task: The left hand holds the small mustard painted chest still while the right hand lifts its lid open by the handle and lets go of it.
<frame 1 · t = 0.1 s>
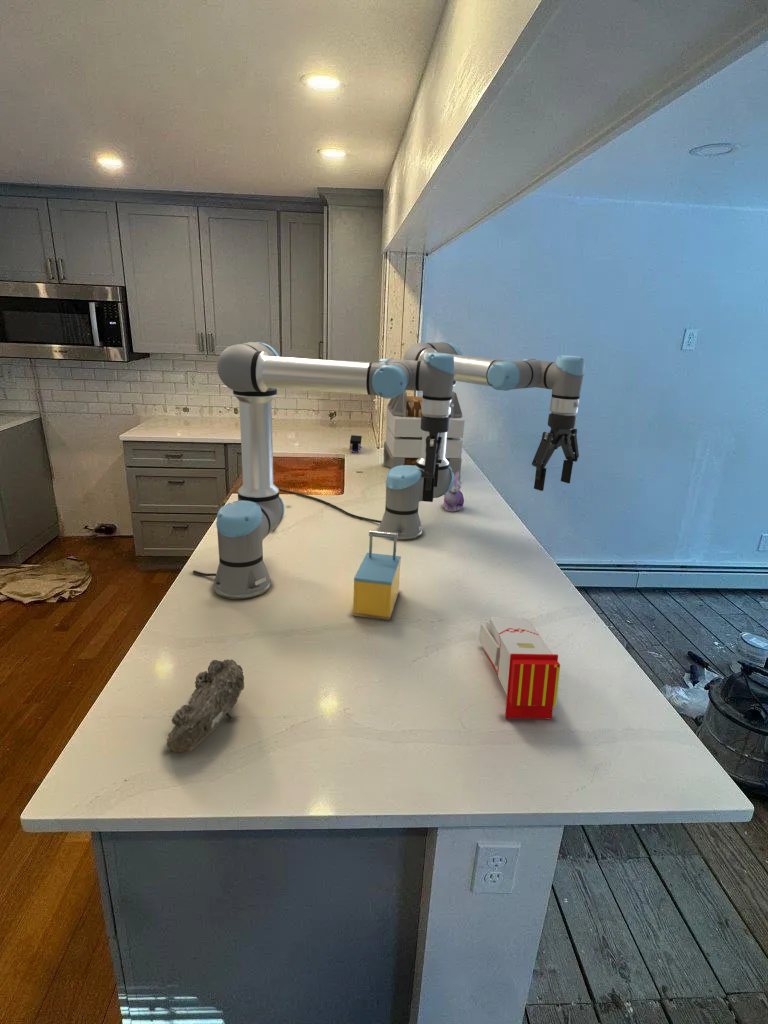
left hand: (430, 493, 154), 28 cm above the counter, tool pointing down, fingers open, 13 cm apart
right hand: (552, 485, 166), 28 cm above the counter, tool pointing down, fingers open, 13 cm apart
lid: (379, 554, 148), point 14 cm above the counter, hinge at 0.0°
feather: (280, 519, 209), on the counter
figurine character: (355, 451, 311), on the counter
chest: (376, 603, 152), on the counter
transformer: (419, 473, 275), on the counter
fossil: (212, 717, 108), on the counter
figurine: (453, 508, 228), on the counter
toy: (511, 677, 124), on the counter
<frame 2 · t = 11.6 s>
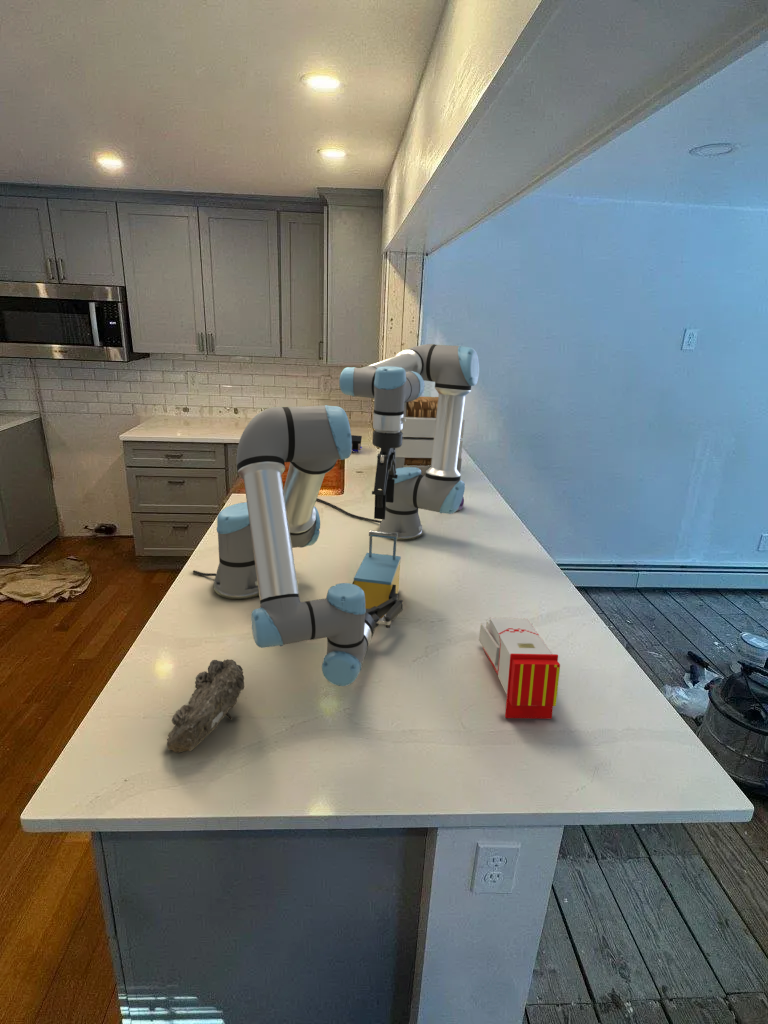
left hand: (374, 587, 146), 7 cm above the counter, tool horizontal, fingers closed on chest, 9 cm apart
right hand: (384, 510, 149), 25 cm above the counter, tool pointing down, fingers open, 13 cm apart
chest: (376, 603, 152), on the counter, touching left hand
everything else where it was.
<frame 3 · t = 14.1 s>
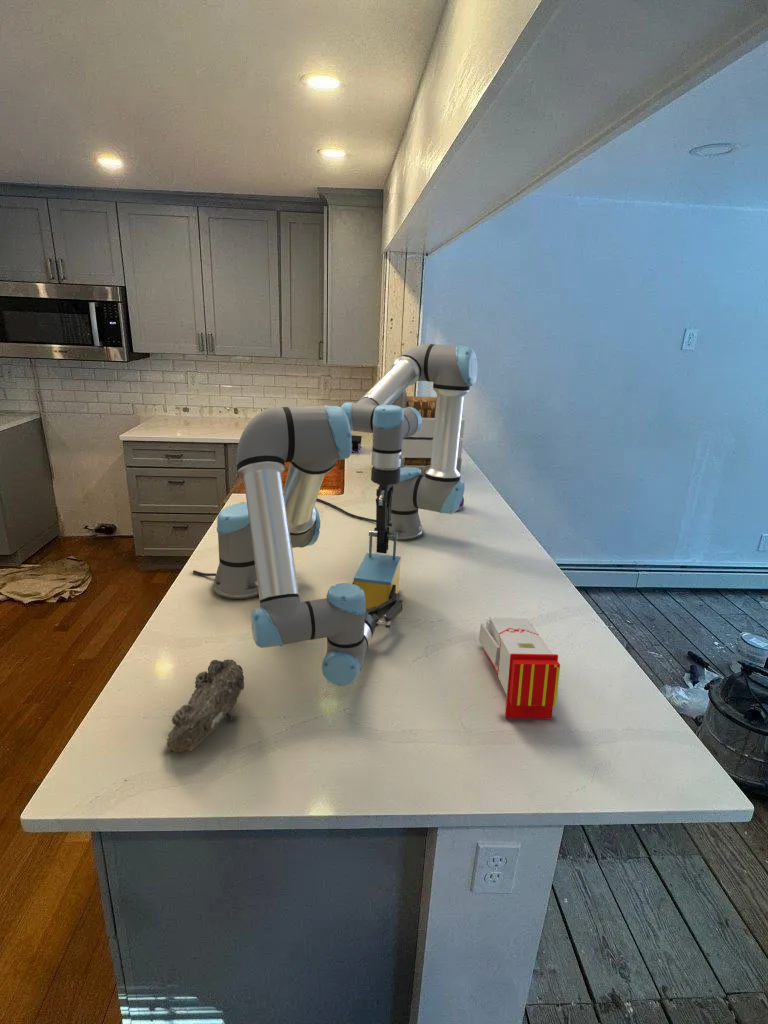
left hand: (374, 587, 146), 7 cm above the counter, tool horizontal, fingers closed on chest, 9 cm apart
right hand: (382, 550, 153), 13 cm above the counter, tool pointing down, fingers closed on lid, 2 cm apart
lid: (378, 554, 148), point 14 cm above the counter, hinge at -0.1°, touching right hand
chest: (376, 603, 152), on the counter, touching left hand
everything else where it was.
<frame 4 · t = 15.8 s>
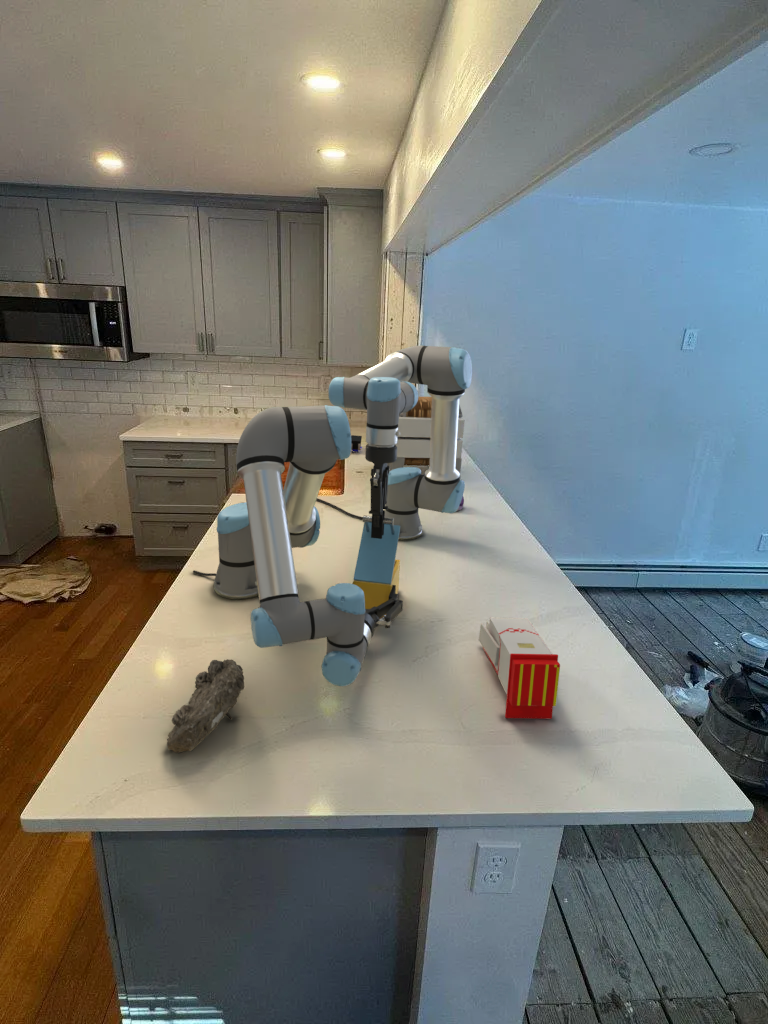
left hand: (374, 587, 146), 7 cm above the counter, tool horizontal, fingers closed on chest, 9 cm apart
right hand: (377, 535, 143), 21 cm above the counter, tool pointing down, fingers closed on lid, 2 cm apart
lid: (375, 546, 142), point 19 cm above the counter, hinge at 42.2°, touching right hand
chest: (376, 603, 152), on the counter, touching left hand
everything else where it was.
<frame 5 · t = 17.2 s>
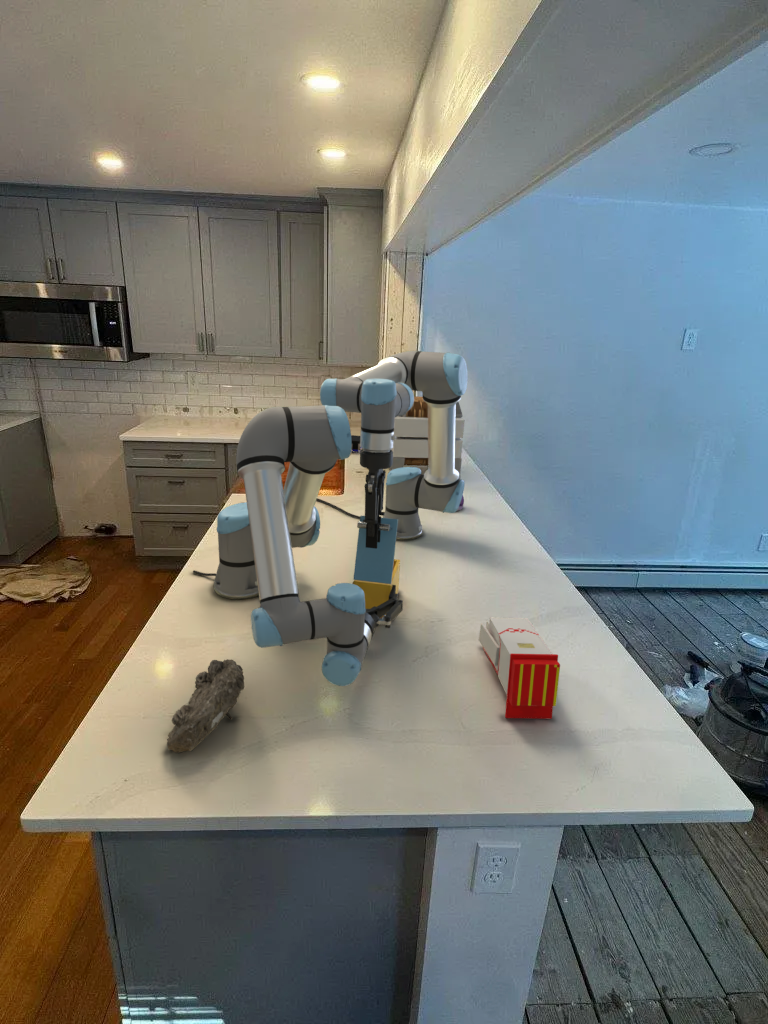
left hand: (374, 587, 146), 7 cm above the counter, tool horizontal, fingers closed on chest, 9 cm apart
right hand: (372, 544, 137), 21 cm above the counter, tool pointing down, fingers open, 3 cm apart
lid: (373, 549, 138), point 19 cm above the counter, hinge at 66.4°
chest: (376, 603, 152), on the counter, touching left hand
everything else where it was.
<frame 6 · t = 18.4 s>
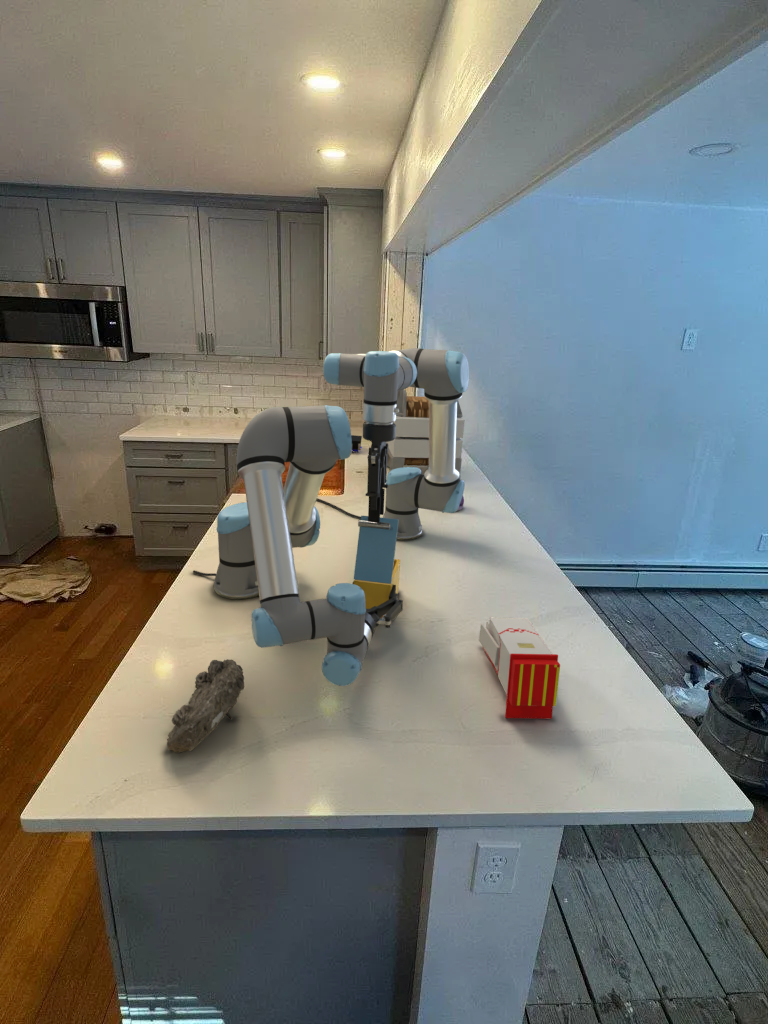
left hand: (374, 587, 146), 7 cm above the counter, tool horizontal, fingers closed on chest, 9 cm apart
right hand: (376, 517, 137), 27 cm above the counter, tool pointing down, fingers open, 5 cm apart
lid: (373, 548, 139), point 19 cm above the counter, hinge at 63.6°
chest: (376, 602, 152), on the counter, touching left hand
everything else where it was.
when the left hand's fingers open (7 cm above the counter, at t = 21.1 s): chest stays where it is, on the counter.
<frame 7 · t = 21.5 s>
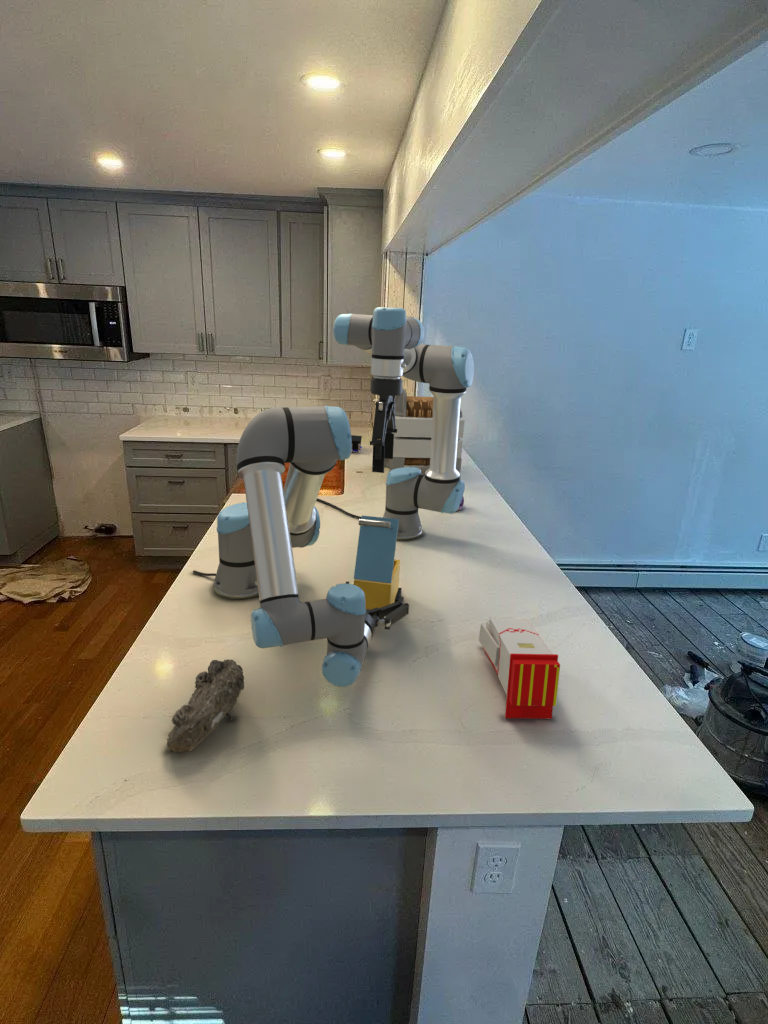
left hand: (373, 589, 145), 7 cm above the counter, tool horizontal, fingers open, 13 cm apart
right hand: (382, 465, 140), 38 cm above the counter, tool pointing down, fingers open, 13 cm apart
lid: (374, 547, 139), point 19 cm above the counter, hinge at 62.2°
chest: (376, 603, 152), on the counter
everything else where it was.
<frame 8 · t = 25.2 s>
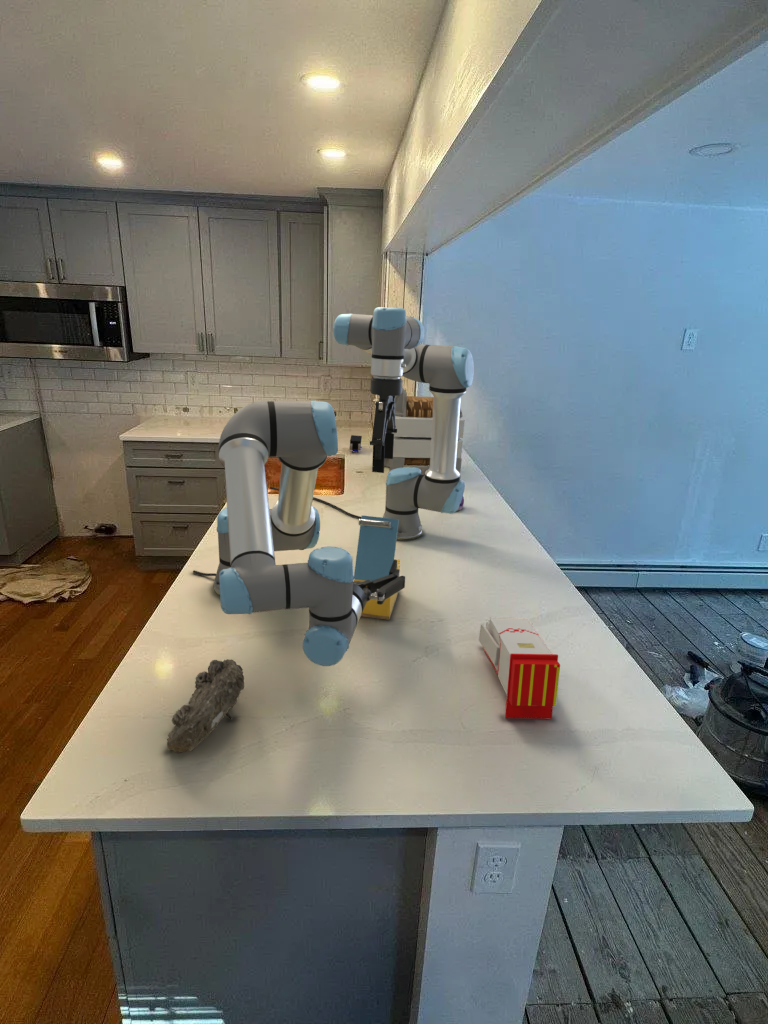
left hand: (365, 561, 129), 20 cm above the counter, tool horizontal, fingers open, 13 cm apart
right hand: (382, 465, 140), 38 cm above the counter, tool pointing down, fingers open, 13 cm apart
nothing on the counter moved.
at the end: lid at +62° (first picture: +0°); the left hand is holding nothing; the right hand is holding nothing; chest tilted 0°; chest never tilted more than 1° during the clip; chest moved 0.2 cm from its start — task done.
